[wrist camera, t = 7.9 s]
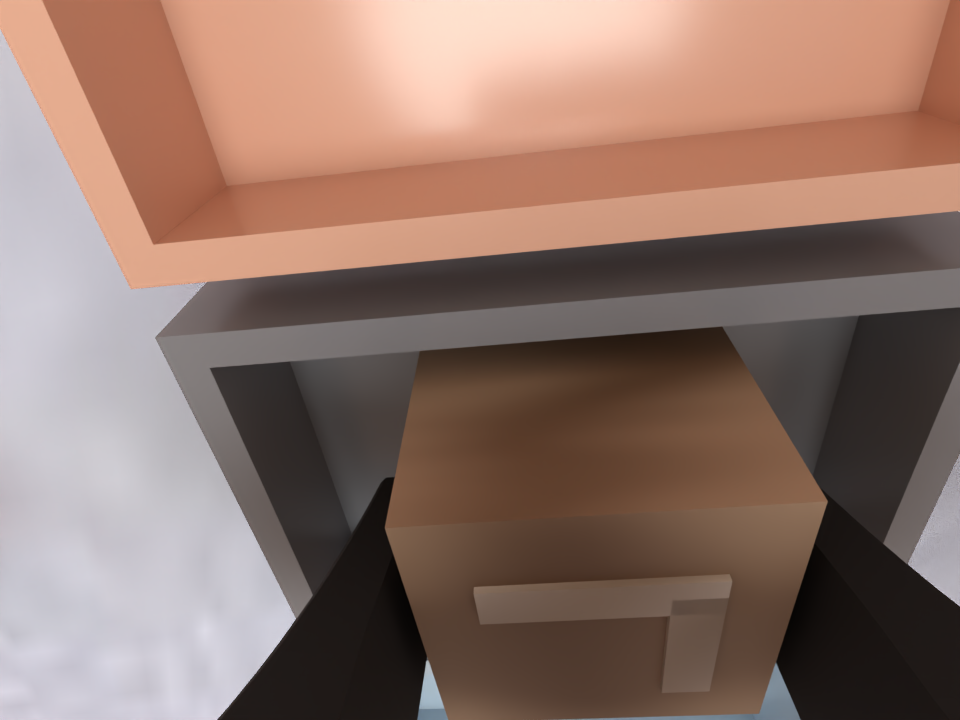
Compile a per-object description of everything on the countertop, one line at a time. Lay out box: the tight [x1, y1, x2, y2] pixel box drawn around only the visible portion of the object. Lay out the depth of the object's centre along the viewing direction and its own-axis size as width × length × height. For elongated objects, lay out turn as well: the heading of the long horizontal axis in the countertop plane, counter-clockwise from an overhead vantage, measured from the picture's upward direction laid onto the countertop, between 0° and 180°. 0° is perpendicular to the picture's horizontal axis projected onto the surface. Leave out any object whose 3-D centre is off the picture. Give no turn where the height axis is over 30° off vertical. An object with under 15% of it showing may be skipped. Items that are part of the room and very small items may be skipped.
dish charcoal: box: [156, 211, 960, 619], centre depth 11 cm, size 12×8×3 cm
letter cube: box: [385, 327, 828, 720], centre depth 10 cm, size 5×5×5 cm
